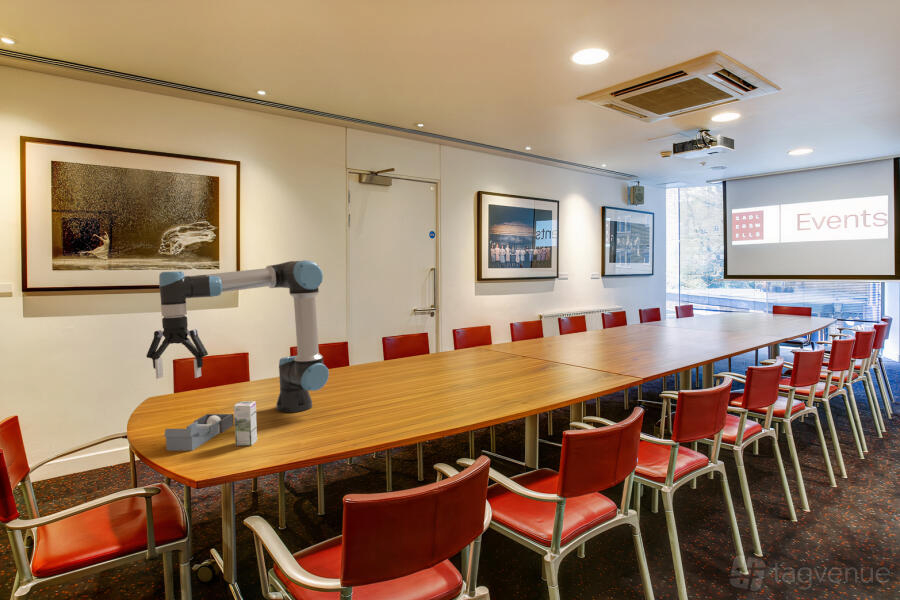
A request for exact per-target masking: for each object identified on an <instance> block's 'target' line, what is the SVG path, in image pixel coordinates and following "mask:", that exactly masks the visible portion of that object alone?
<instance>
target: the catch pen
mask: <svg viewBox="0 0 900 600" xmlns="http://www.w3.org/2000/svg"><path fill="white" fill-rule="evenodd" d="M213 415H216V416H218V417H219V418H220V419H221V420H220V421H219V427H220V433H219V434H223V433H224V432H225V431H227V430H229V429H230V428H231V427H234V413H207V414H204V415H202V416H200V417H199V418H196V419H195V420H194V421H193V423H194V422H196V421H198V424H207V419H208V418H209V417H210V416H213Z"/></svg>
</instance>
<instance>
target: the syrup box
mask: <svg viewBox="0 0 900 600" xmlns="http://www.w3.org/2000/svg"><path fill="white" fill-rule="evenodd" d="M233 420H234V439H235V446H236V447H244V446H245V447H246V446H248V447H249V446H253V445H255V443H256V442H257V441H258V433H257V432H258V431H257V429H258V427H257V403H256V401H255V400H253V401H239V402H237V403H235V404H234V405H233Z"/></svg>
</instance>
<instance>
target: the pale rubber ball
mask: <svg viewBox="0 0 900 600" xmlns="http://www.w3.org/2000/svg"><path fill="white" fill-rule="evenodd" d="M220 420H221V419H220V418H219V417H218V416H216V415H213V416H210V417H209V418H208V419H207V424H214V423H216V422H217V421H220Z"/></svg>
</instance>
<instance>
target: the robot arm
mask: <svg viewBox="0 0 900 600" xmlns="http://www.w3.org/2000/svg"><path fill="white" fill-rule="evenodd" d="M323 279H324V275H323V271H322V268H320V266H319V264H317V263H316V262H314V261H311V260H295V261H294V260H291V261H286V262H285V261H284V262H281V263H277V264H273V265H267V266H266V267H265V268H257V269H256V268H255V269H247V270H246V269H245V270H236V271H226V272H216V273H209V274H198V275H185V273H184V272H183V271H182V270H181V271H162V272H160V273H159V278H158V280H159V281H158V282H159V283H158V287H159V294H160V295H159V296H160V310H161V317H162V319H161V323H162V325H161V326H162V329H163V330H161V329H160V330H155V331H154V332H153V339H152V342H151V344H150V347H149V349H148V351H147V353H146V359H151V360H152V367H153V369H154V370H155V378H156V379H161V378H163V377H164V367H163V358H162V357H161V356H162V355H163V354H164V352H165V350H167V348H168V346H170V344H173V345H174V344H177V345H178V344H181V345H183V346H184V347H185V348H186V349H187V350H188V351H189V352H190V354H192V356H194V358H193V367H194V369H193V370H194V378H195V379H197V378H199V377H202V368H203V367H204V363H203V358H204V357H207V356H208V355H209V353H208V351H207V349H206V348H205V346H204V344H203V342H202V340H201V339H200V337H199V335H198V330H197V329H191V330H188V326H189V325H188V317H187V314H188V312H187V311H188V310H187V299H193V298H197V299H198V298H213V297H219V296H221V294H222V293H226V292H234V291H242V290H249V289H250V290H251V289H256V288H257V289H259V288H265V287H269V289H274V288H276V289H277V288H278V289H280V288H283V289H284V288H285V289H288V290H289V296H291V297H292V298H293V305H294V307H293V308H294V322H295V332H296V333H295V335H296V336H295V337H296V348H297V349H296V350H297V351H296V353H297V354H296V355H293V356H286V357H281V358H280V359H279V361H278V372H279V373H278V374H279V393H278V398H277V401H276V404H275V405H276V406H275V407H276V408H275V409H276V411H277V412H279V413H298V412H299V413H300V412H303V411H307V410H309V409H310V410H311V408H313V400H312V397H311V394H310V392H309V391H311V392H314V391H315V392H316V391H319V390H321V389H322V388H324V387H325V385H326V384H327V382H328V380H329V378H330V377H329V375H330V372H329V368H328V367H327V366H326V365H325V364H324V357H323V355H322V354H321V353H320V351H319V335H318V334H319V333H318V319H317V306H316V305H317V304H316V297H317V295H318V294H319V292H320V291H319V287H320V286H321V285H322V282H323ZM163 337H164V339H163V340H162V338H163ZM189 337H190V338H189ZM161 340H162V342H161ZM191 340H192V341H191ZM160 342H161V344H160ZM159 345H160V346H159Z"/></svg>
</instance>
